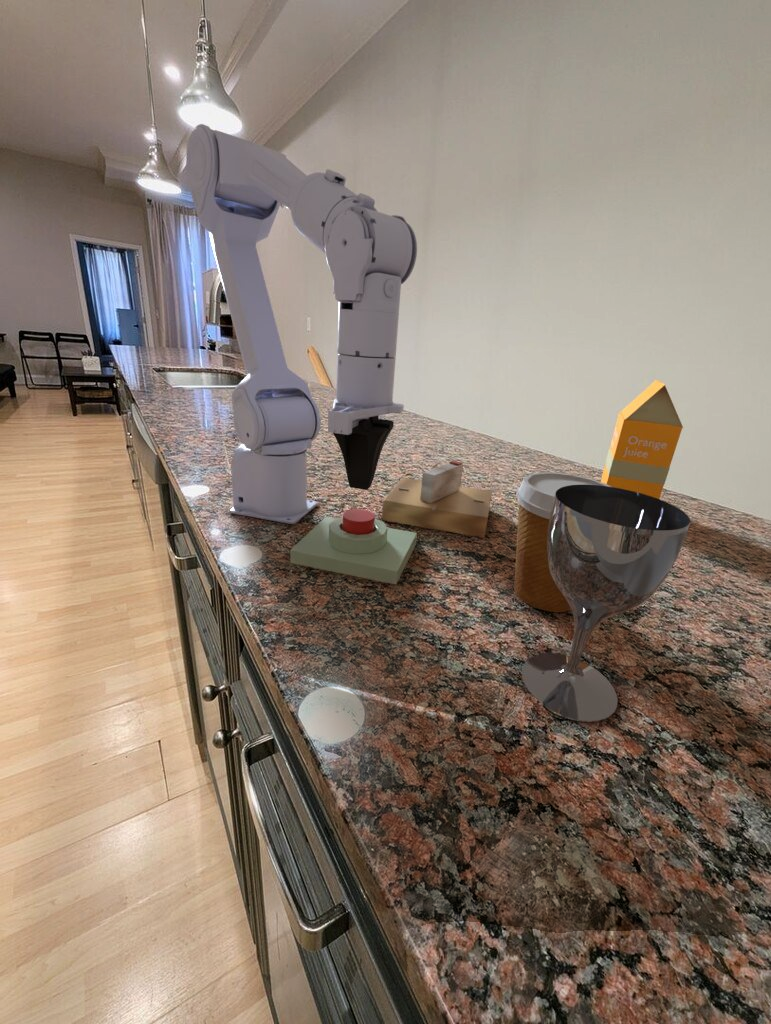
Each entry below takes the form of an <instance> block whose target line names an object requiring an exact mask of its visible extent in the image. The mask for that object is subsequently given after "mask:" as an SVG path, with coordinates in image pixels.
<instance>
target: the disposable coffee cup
mask: <svg viewBox="0 0 771 1024" xmlns="http://www.w3.org/2000/svg"><path fill="white" fill-rule="evenodd" d="M570 485H600V486H608V487H611V486H609V485H607V484H605V483H602V482H601V480H600V481H599V480H596V479H594V478H590V477H585V476H581V475H576V474H569V473H564V472H563V473H562V472H549V471H547V472H546V471H544V472H543V471H542V472H534V473H530V474H527V475H525V476H524V478H523V480H522V482H521V484H520V485H519V486H518V487H517V488H516V490H515V494H516V497H517V502H518V516H517V517H518V518H517V520H518V521H517V534H516V535H517V536H516V550H515V552H516V553H515V568H514V569H515V570H514V582H513V583H514V585H513V590H514V594H515V595H516V596H517V597H518V598H519V600H521V601H522V602H524V603H526V604H527V605H529V606H530V607H533V608H535V609H538V610H541V611H546V612H551V613H564V612H569V611H572V610H571V608H570V606H569V604H568V602H567V601H566V599H565V598H564V596H563V595H562V593H561V592H560V590H559V589H558V587H557V586H556V584H555V582H554V581H553V578H552V576H551V574H550V571H549V567H548V561H547V538H548V525H549V519H550V514H551V508H552V504H553V500H554V496H555V493H556V491H557V490H558V489H560V488H561V487H565V486H570Z"/></svg>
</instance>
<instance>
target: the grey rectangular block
mask: <svg viewBox="0 0 771 1024" xmlns="http://www.w3.org/2000/svg"><path fill="white" fill-rule="evenodd" d="M463 469H464V464H463V462H460V461H456V460H451V461H449V463H446V464H442V465H440V466H436V467H434V468H432V469H429V470H428V469H427V470H426V471H423V472H422V475H421V476H422V477H421V481H422V485H421V495H420V500H422V501H425V502H428V503H433V502H435V501H437V500H439V499H441V498H444V497H446V496H448V495H450V494H452V493H455V492H457V491H459V490H460V486H461V485H462V477H463Z"/></svg>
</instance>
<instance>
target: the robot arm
mask: <svg viewBox="0 0 771 1024" xmlns="http://www.w3.org/2000/svg"><path fill="white" fill-rule="evenodd" d="M185 157H186V161H185V175H186V180H187V184H188V187H189V192H190V196H191V199H192V202H193V206H194V209H195V212H196V216H197V219H198V222H199V224H200V225H201V226H202V227H203V228H204V229H205V230H206V231H207V232H208V234H209V238H210V239H209V240H210V242H211V243H210V244H211V247H212V250H213V255H214V258H215V262H216V265H217V269H218V272H219V277H220V280H221V284H222V287H223V291H224V295H225V299H226V303H227V307H228V310H229V313H230V317H231V321H232V325H233V328H234V329H233V330H234V332H235V333H234V334H235V336H236V340H237V345H238V348H239V351H240V355H241V358H242V359H241V360H242V362H243V367H244V370H245V374H246V376H245V377H244V378H243V379H242V380H241V381H240V382H239V383H238V384H237V385H236V386H235V388H234V389H233V391H232V394H231V396H230V398H231V403H232V410H233V426H234V430H235V434H236V436H237V438H238V440H239V442H240V443H241V444H240V445H239V446H238V447H237V448H236V449H235V450H234V451H233V452H234V453H233V455H232V458H231V464H230V475H231V487H232V488H231V489H232V504H233V507H232V508H230V514H234V515H239V516H244V517H245V516H246V517H249V518H256V519H260V520H266V521H272V522H276V523H283V524H288V525H295V524H296V523H297V522H299V521H300V520H301V519H302V518H304V517H305V516H306V515H307V514H308V513H309V512H311V511H312V510H313V509H314V508H316V507H317V506H318V501H317V500H312V499H308V493H307V492H308V491H307V490H308V487H307V486H308V484H307V483H308V482H307V481H308V470H307V469H308V468H307V467H308V465H307V464H308V461H307V460H308V457H307V456H308V454H307V453H308V449H312V441H314V440H316V438H317V437H318V435H319V433H320V430H321V423H322V419H321V418H322V417H321V413H320V409H319V407H318V405H317V402H316V401H315V399H314V398H313V396H312V395H311V392H310V389H309V384H308V383H307V382H306V381H305V380H304V379H303V378H302V377H300V376H299V375H297V374H296V373H295V372H293V371H292V370H291V369H290V368H289V367H288V364H287V361H286V357H285V352H284V349H283V345H282V341H281V338H280V334H279V330H278V326H277V322H276V318H275V314H274V310H273V306H272V304H271V300H270V296H269V291H268V287H267V284H266V280H265V276H264V273H263V269H262V266H261V265H262V264H261V261H260V258H259V253H258V250H257V243H259V242H260V241H263V240H265V239H267V238H268V237H269V235H270V232H271V230H272V228H273V225H274V222H275V219H276V217H277V215H278V211H279V209H280V206H281V205H282V206H284V207H285V208H287V209H288V210H290V214H291V219H292V222H293V225H294V227H295V229H296V231H297V232H298V233H299V234H300V235H302V236H303V237H304V238H305V239H306V240H308V241H309V242H310V243H311V244H312V245H314V246H315V247H316V248H317V249H318V250H320V251H321V252H322V253H323V254H324V255H325V258H326V262H327V266H328V268H329V271H330V273H331V276H332V281H333V282H332V283H333V285H332V287H333V288H332V290H333V291H332V292H333V295H334V298H335V299H334V300H336V301H337V302H338V309H337V310H338V314H337V317H338V318H337V349H336V350H337V351H336V352H337V354H336V389H335V391H336V392H335V399H334V400H333V405H332V408H331V409H329V410H327V411H328V413H327V433H331V434H333V436H334V439H336V442H337V444H338V446H339V449H340V451H341V454H342V455H341V456H342V459H343V463H344V468H345V473H346V479H347V481H348V486H349V488H352V489H358V490H365V491H368V490H369V489H370V488H371V486H372V484H373V481H374V479H375V475H376V471H377V468H378V463H379V460H380V456H381V453H382V450H383V449H384V448H383V447H384V446H385V443H386V441H387V439H388V437H389V435H390V433H391V432H392V430H393V428H394V427H395V426H394V425H395V422H394V421H393V420H391V419H385V418H379V417H380V416H384V415H388V414H389V415H390V414H401V413H404V409H405V408H404V407H405V406H404V404H403V403H397V402H394V401H393V399H394V385H395V372H396V360H397V359H396V357H397V347H398V346H397V344H398V332H399V316H400V305H401V304H400V303H401V291H402V290H401V289H402V285H403V284H404V283H405V282H406V281H407V280H408V279H409V277H410V276H411V275H412V273H413V270H414V268H415V265H416V261H417V257H418V256H417V255H418V243H417V236H416V233H415V231H414V229H413V227H412V226H411V225H410V224H409V223H408V222H407V220H406V218H405V217H403V216H402V215H397V214H396V215H393V214H392V215H391V214H387V213H384V212H380V211H378V209H377V208H376V207H375V204H376V202H375V199H374V198H373V197H371V196H370V195H368V194H365V193H360V192H359V193H358V194H357V193H355V192H354V191H352V190H351V189H349V188H348V187H346V186H345V185H346V181H347V178H346V176H344V175H343V174H342V173H340V172H337V171H334V170H332V169H329V168H328V169H326V170H325V173H324V172H313V173H310V174H308V175H307V174H306V173H305V172H304V171H302V170H301V169H300V168H299V167H298V166H297V165H295V164H294V163H293V162H292V161H291V160H289V159H288V158H287V155H286V154H284V153H283V152H280V151H277V150H275V149H272V148H270V147H266V146H264V145H261V144H258V143H255V142H252V141H250V140H247V139H244V138H241V137H238V136H235V135H232V134H229V133H226V132H223V131H220V130H217V129H215V130H214V129H212V128H211V127H210V126H209V125H206V124H204V123H199V124H197V125H196V126H194V128H193V129H192V131H191V133H190V134H189V136H188V141H187V144H186V155H185Z"/></svg>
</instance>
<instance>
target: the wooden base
mask: <svg viewBox="0 0 771 1024" xmlns="http://www.w3.org/2000/svg"><path fill="white" fill-rule="evenodd" d="M421 485H422V479H421V480H420V479H414V478H408V477H407V478H406V477H401V478H400V480H399V481H398V482H396V484H395V486H394V487H393V488H392V489H391V490H390V492H389V493H388V494H387V495H386V496H385V498H384V499H383V500H382V512H381V514H382V515H381V521H386V522H390V523H391V522H392V523H398V524H402V525H409V526H415V527H421V528H425V529H426V528H427V529H430V530H431V529H432V530H437V531H443V532H450V533H453V534H454V533H455V534H460V535H466V536H472V537H478V538H485V536H486V531H487V524H488V519H489V512H490V507H491V501H492V495H493V491H492V490H488V489H480V488H475V487H468V486H461V485H460V490H459V491H457V492H455V493H452V494H450V495H448V496H446V497H444V498H441V499H439V500H437V501H435V502H433V503H428V502H425V501H422V500H420V495H421Z"/></svg>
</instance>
